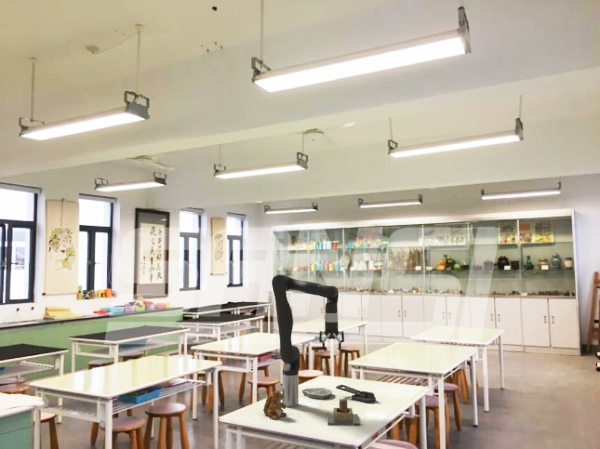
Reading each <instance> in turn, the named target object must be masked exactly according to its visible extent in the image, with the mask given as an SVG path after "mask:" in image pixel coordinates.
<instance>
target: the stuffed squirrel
mask: <svg viewBox="0 0 600 449" xmlns="http://www.w3.org/2000/svg"><path fill="white" fill-rule="evenodd" d="M270 393H271V394H269V395H267V398H266V399H265V403H264V405H263V406H264V407H263V409H262V411H263V412H264V413H263V414H264V415H265V416H268V418H269V417H270V418H269V419H271V418H272V419H271V420H274V419H276V420H277V419H278V418H280V417H286V416H287V415H288V414H287V412H284V410H285V409H287V406H286V405H285V404H283V403H282V399H283V397H284V396H283V395H282V392H281V391H280V390H275V391H271V392H270ZM284 398H285V397H284Z"/></svg>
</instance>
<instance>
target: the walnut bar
mask: <svg viewBox="0 0 600 449" xmlns="http://www.w3.org/2000/svg"><path fill="white" fill-rule="evenodd" d="M338 408H339V412H347V408H348V399H345V398H344V399H339V400H338Z"/></svg>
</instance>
